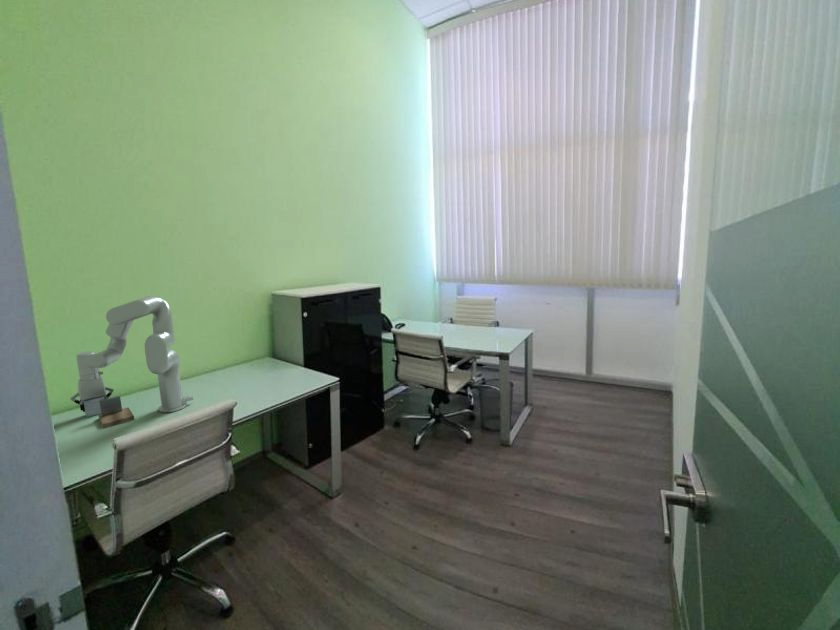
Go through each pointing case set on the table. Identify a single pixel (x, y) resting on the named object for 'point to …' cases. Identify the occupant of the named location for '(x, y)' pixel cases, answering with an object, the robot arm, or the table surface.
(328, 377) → the table surface
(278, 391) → the table surface
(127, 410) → the wooden display stand
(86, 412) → the medicine box
